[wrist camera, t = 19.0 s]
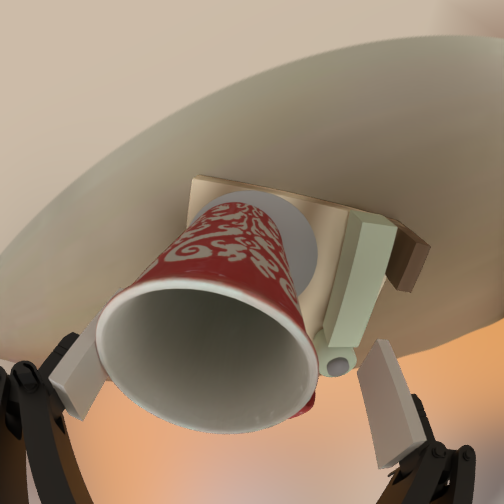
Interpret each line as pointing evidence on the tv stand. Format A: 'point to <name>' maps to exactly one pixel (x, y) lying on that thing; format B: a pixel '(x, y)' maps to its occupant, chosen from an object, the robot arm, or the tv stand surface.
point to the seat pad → (281, 231)
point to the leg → (354, 290)
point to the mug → (213, 329)
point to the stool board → (323, 243)
